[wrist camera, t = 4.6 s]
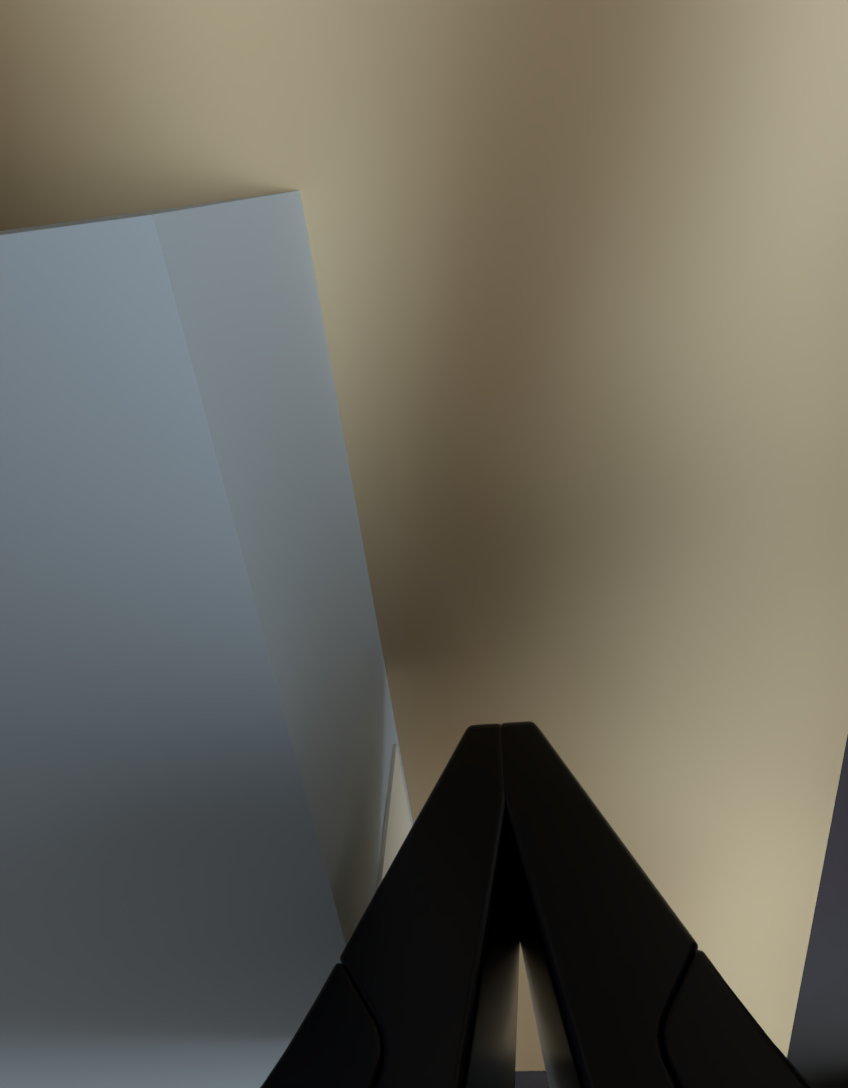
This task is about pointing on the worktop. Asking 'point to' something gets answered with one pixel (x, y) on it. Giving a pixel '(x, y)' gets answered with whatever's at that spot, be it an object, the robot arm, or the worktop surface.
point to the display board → (546, 376)
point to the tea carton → (179, 652)
